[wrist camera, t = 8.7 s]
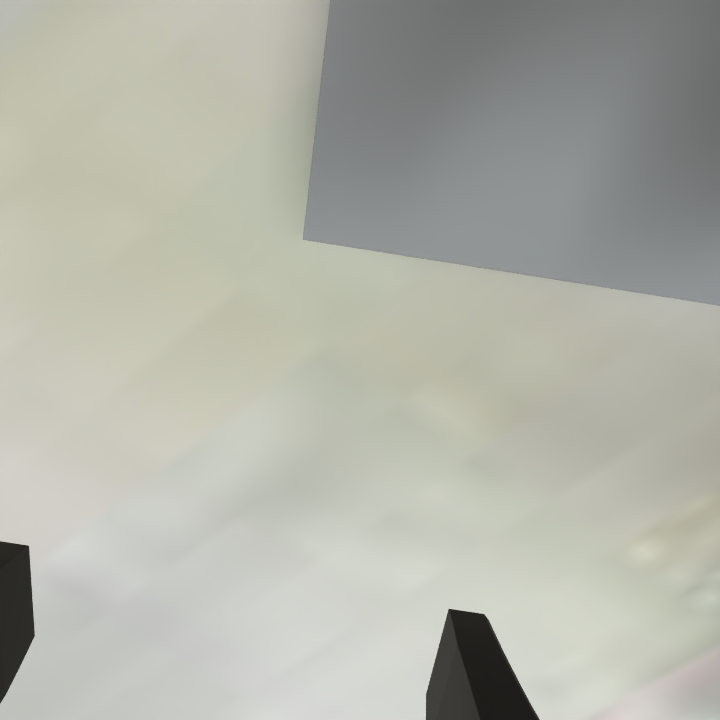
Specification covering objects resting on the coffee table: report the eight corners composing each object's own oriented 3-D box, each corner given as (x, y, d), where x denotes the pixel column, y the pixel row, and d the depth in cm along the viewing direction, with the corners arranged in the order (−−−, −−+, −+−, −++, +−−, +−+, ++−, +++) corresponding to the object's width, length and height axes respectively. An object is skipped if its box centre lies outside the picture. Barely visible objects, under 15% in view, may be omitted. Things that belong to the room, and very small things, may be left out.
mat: (1026, -302, 13) (1044, -313, 13) (769, 310, 18) (777, 314, 18) (380, -414, 13) (379, -428, 13) (304, 236, 18) (302, 239, 18)
